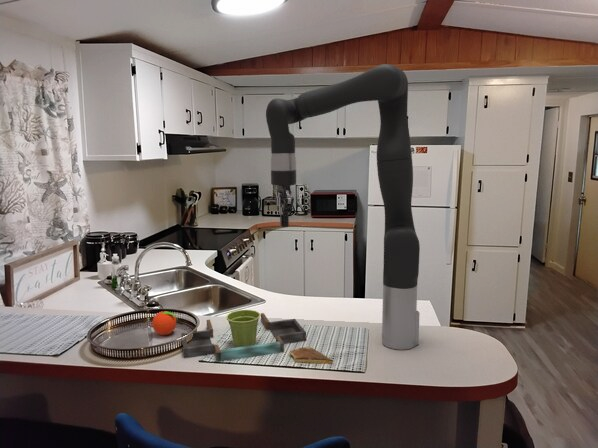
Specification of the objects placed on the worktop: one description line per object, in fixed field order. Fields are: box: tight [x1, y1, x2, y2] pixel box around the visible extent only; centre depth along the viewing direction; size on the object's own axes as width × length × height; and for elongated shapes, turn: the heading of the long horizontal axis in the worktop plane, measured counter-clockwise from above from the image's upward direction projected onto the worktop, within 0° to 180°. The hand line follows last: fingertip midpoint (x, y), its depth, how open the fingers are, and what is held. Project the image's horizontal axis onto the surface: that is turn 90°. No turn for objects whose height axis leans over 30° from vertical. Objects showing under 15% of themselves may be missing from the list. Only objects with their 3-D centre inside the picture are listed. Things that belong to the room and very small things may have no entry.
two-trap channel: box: [180, 312, 307, 362], centre depth 133 cm, size 34×24×2 cm
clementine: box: [151, 310, 179, 336], centre depth 137 cm, size 8×7×7 cm
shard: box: [288, 346, 334, 365], centre depth 119 cm, size 11×8×2 cm
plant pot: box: [225, 309, 261, 348], centre depth 128 cm, size 9×9×9 cm
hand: (284, 226), depth 139 cm, fingers closed
